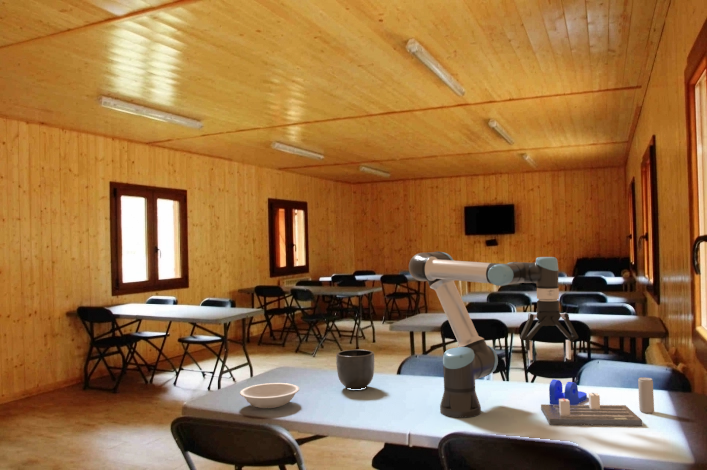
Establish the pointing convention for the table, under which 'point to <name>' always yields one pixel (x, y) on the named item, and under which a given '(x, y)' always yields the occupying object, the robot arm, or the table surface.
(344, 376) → the planter
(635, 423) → the console
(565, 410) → the fader
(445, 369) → the robot arm
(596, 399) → the fader
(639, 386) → the beverage can
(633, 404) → the table surface
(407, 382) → the table surface
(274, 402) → the soup bowl
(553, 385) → the bracket
